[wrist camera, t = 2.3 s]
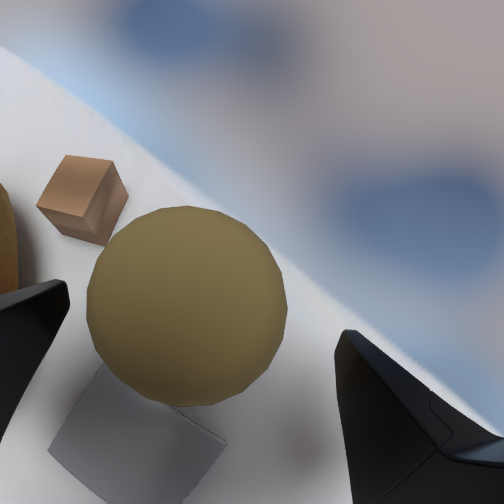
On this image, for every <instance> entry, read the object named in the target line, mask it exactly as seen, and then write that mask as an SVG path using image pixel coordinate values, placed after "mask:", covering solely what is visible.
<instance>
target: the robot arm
mask: <svg viewBox="0 0 504 504" xmlns="http://www.w3.org/2000/svg"><path fill="white" fill-rule="evenodd" d="M69 308H70V299H69V293H68V287H67V284H66V282H65V281H62V280H58V279H54V280H50V281H47V282H43V283H40V284H36V285H33V286H29V287H26V288H22V289H19V290H16V291H12V292H9V293H6V294H2V295H0V443H1V440H2V437H3V435H4V433H5V431H6V429H7V426H8V424H9V422H10V420H11V418H12V416H13V414H14V412H15V410H16V407H17V405H18V403H19V401H20V400H21V398H22V396H23V394H24V392H25V390H26V388H27V386H28V384H29V382H30V381H31V379H32V377H33V375H34V373H35V372H36V370H37V368H38V366H39V365H40V363H41V361H42V359H43V358H44V356H45V354H46V353H47V351H48V349H49V348H50V346H51V344H52V342H53V340H54V338H55V336H56V334H57V332H58V330H59V328H60V326H61V324H62V322H63V320H64V318H65V316H66V314H67V313H68V311H69ZM334 361H335V375H336V392H337V401H338V407H339V413H340V418H341V424H342V430H343V436H344V443H345V449H346V456H347V463H348V470H349V477H350V485H351V493H352V501H353V504H504V437H499V436H496V435H494V434H492V433H490V432H489V431H487V430H486V429H484V428H483V427H481V426H480V425H478V424H477V423H475V422H474V421H472V420H471V419H469V418H468V417H466V416H465V415H463V414H462V413H461V412H459V411H458V410H456V409H455V408H453V407H452V406H451V405H449V404H448V403H447V402H445V401H444V400H443V399H442V398H440V397H439V396H438V395H437V394H435V393H434V392H433V391H430V389H429V388H428V387H427V386H425V385H424V384H423V383H422V382H420V381H419V380H418V379H417V378H415V377H414V376H413V375H412V374H410V373H409V372H408V371H407V370H405V369H404V368H403V367H402V366H400V365H399V364H398V363H397V362H395V361H394V360H393V359H392V358H390V357H389V356H388V355H387V354H385V353H384V352H383V351H382V350H380V349H379V348H378V347H377V346H375V345H374V344H373V343H372V342H370V341H369V340H368V339H367V338H365V337H364V336H363V335H362V334H360V333H359V332H358V331H356V330H347V329H345V330H344V331H343V332H342V334H341V336H340V339H339V341H338V344H337V347H336V349H335V353H334Z"/></svg>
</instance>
